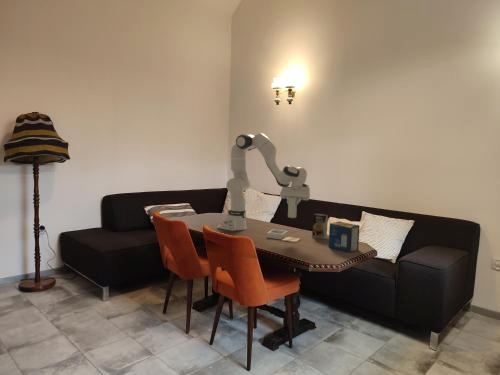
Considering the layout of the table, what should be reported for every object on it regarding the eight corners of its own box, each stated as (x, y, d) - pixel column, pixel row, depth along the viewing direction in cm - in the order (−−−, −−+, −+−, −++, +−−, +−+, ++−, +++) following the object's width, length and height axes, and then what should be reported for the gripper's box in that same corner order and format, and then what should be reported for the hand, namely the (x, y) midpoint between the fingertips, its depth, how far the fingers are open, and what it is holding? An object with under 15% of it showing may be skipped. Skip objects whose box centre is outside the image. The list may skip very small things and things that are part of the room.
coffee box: (311, 237, 256) (312, 214, 254) (314, 235, 262) (315, 213, 260) (324, 238, 252) (325, 215, 250) (327, 237, 258) (328, 214, 256)
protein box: (337, 244, 237) (338, 221, 236) (358, 250, 226) (360, 225, 224) (327, 247, 230) (329, 223, 229) (348, 252, 219) (350, 227, 217)
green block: (287, 217, 243) (288, 197, 241) (289, 216, 247) (290, 197, 245) (294, 218, 241) (295, 198, 240) (296, 216, 245) (297, 197, 244)
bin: (266, 237, 251) (267, 232, 251) (272, 234, 262) (273, 229, 262) (282, 239, 247) (282, 234, 246) (287, 235, 258) (287, 231, 257)
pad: (281, 240, 243) (281, 239, 243) (286, 237, 252) (286, 236, 252) (296, 242, 239) (296, 241, 239) (300, 239, 248) (300, 238, 248)
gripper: (281, 183, 252) (276, 199, 244) (310, 185, 244) (306, 201, 236) (283, 189, 257) (278, 204, 249) (312, 191, 249) (307, 207, 241)
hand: (292, 203), depth 242 cm, fingers closed on green block, 4 cm apart
